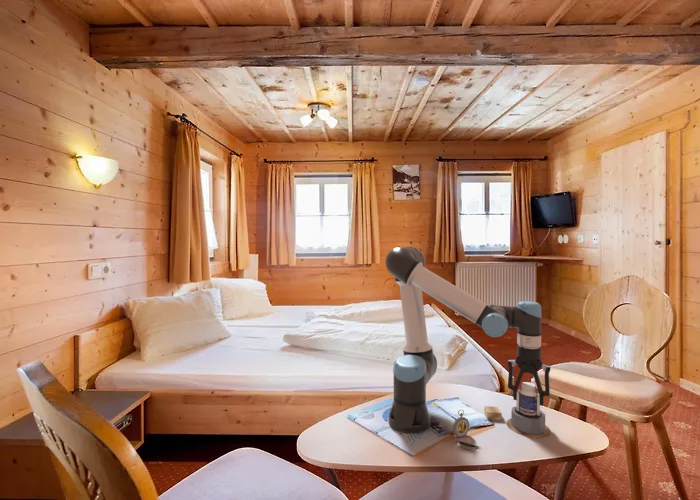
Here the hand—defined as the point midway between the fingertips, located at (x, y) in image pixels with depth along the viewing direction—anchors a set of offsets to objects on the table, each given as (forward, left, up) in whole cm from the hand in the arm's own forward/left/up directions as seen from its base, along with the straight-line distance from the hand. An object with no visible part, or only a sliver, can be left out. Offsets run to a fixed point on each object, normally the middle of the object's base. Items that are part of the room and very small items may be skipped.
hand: (528, 411), depth 127 cm
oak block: (-12, +2, -7) cm, 14 cm away
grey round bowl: (0, 0, -6) cm, 6 cm away
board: (0, 0, -7) cm, 7 cm away
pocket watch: (-17, -19, -7) cm, 26 cm away
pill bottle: (0, 0, -1) cm, 1 cm away
